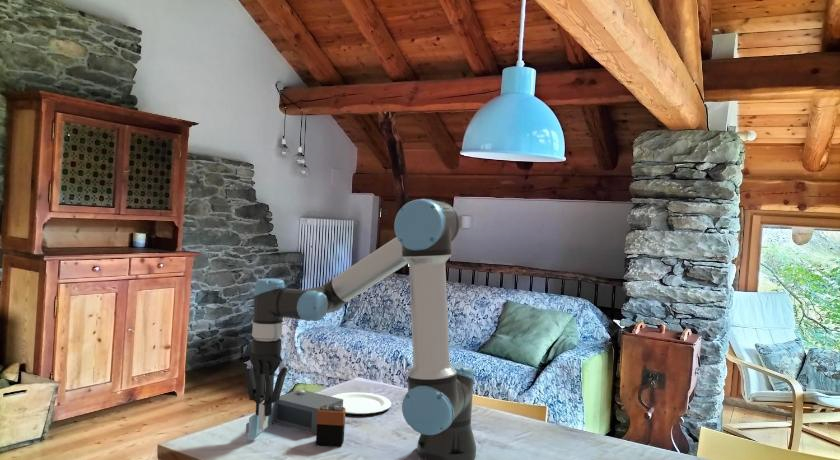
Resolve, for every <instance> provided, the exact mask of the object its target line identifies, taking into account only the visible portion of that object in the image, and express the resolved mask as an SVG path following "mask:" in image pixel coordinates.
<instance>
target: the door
mask: <svg viewBox="0 0 840 460" xmlns="http://www.w3.org/2000/svg"><path fill="white" fill-rule="evenodd" d="M274 413H275V402H274V403H272V409H271V415H270V416H268V426H267V427H266V428H268V427H269V426H270V425H271V424H275V423H274ZM258 417H259V415H256V412H255V413H254V414H252V415H251V416H250V417H249V418H248V422H246V424H245V434H248V435H247V436H248V437H247V440H248V441H253V439H255V438H256V437H257V436H258V435H259V434H260V433H262V432H263V431H264V430H265V429H263V430H261V429H258Z"/></svg>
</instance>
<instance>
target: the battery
mask: <svg viewBox="0 0 840 460" xmlns="http://www.w3.org/2000/svg"><path fill="white" fill-rule="evenodd" d="M345 422H346V413H345V408H344V407H342V405H335V406H334V407H329V406H328V405H322V406H321V407H320V408H319V410H318V413H317V432H316V434H315V435H316V436H315V445H316V446H320V447H323V446H324V447H336V448H337V447H339V448H341V447H342V446H343V444H344V442H345V441H344V440H345V427H346V426H345V424H346V423H345Z"/></svg>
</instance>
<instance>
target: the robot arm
mask: <svg viewBox="0 0 840 460" xmlns="http://www.w3.org/2000/svg"><path fill="white" fill-rule="evenodd" d="M458 214H459V213H458V212H457V211H456V210H455V208H454V207H453V206H451V204H449V203H446V201H440V200H433V199H429V198H420V199H418V198H417V199H413V200H411V201H409V202H406V203H405V204H404V205H402V207H401V208H400V209H399V210H398V212H397V214H396V216H395V219H394V223H393V225H394V226H393V228H394V234H395V236H396V237H394V238H392V239H391V240H390V241H388V242H386V243H385V244H383V245H382V246H380V247H379V248H378V249H375V250H374V251H373V252H371V253H370V254H369V255H366V256H364V258H362V259H360V260H359V261H357V262H356V263H354V264H352V266H349V267H348V268H347V269H345V270H344V271H341V273H339V274H337V275H336V276H334V277H333V278H332V279H330V280H328V281H327V282H326V283H324V284H322V285H321V286H316V287H310V288H305V289H297V288H287V287H286V286H285V281H284V280H283V279H280V278H271V277H270V278H260V279H257V280H256V281H255V284H254V292H253V319H252V331H251V337H253V338H252V339H251V355H250V358H249V360H247V361H245V362H242V363H241V365H240V366H241V369H242V370H243V372H244V377H245V382H246V387H247V394H248V399H249V400H250V401H253V402H255V404H256V405H255V413H256V415H259V417H258V429H261V430H263V429H264V430H265V429H266V428H268V427H269V426H268V416H270V415H271V409H272V403H274V402H276V401H277V400H279V397H280V396H281V394H282V390H283V387H284V383H285V380H286V375H287V374H288V372H289V371H290V369H291V366H289V365H286V364H285V363H283V359H282V356H281V355H282V354H281V353H282V344H283V343H282V338H281V337H282V336H283V319H285V318H288V319H294V320H301V321H306V322H310V321H312V322H314V321H315V322H318V321H321V320H322V319H324V317H325V316H326V314H330V313H335V312H337V311H338V310H341V309H342V308H343V307H344V305H346V303H347V302H349V301H351V300H353V299H354V298H356V297H357V296H358V295H360V294H361V293H364V292H365V291H366V290H369V288H372V287H373V286H375V285H376V284H377V283H379V282H381V281H382V280H384V279H385V278H387V277H389V276H391V275H392V274H393V273H395V272H396V271H399V270H400V269H401V268H403V267H405V266H406V265H407V264H408V267H409V268H408V269H409V274H408V275H409V288H410V289H409V294H410V315H411V316H410V317H411V336H412V337H411V338H412V341H411V342H412V359H413V361H412V362H413V365H412V367H411V368H410V369H409V370H408V372H407V373H406V374H407V392H406V394H405V395H404V397H403V399H402V403H401V412H402V416H403V418H404V420H405V422H406V424H407V425H408V426H409V427H411V429H413V431H415V432H417V433H418V434H420V435H419V438H418V440H417V446H416V449H417V450H416V451H417V455H418V456H419V457H421V458H422V459H424V460H474V459H476V457H477V444H476V440H475V436H474V433H473V429H472V410H473V409H472V408H473V394H474V393H473V391H474V382H475V378H474V377H475V376H474V369H473V368H472V367H470V366H468V365H465V364H461V363H454V362H451V361H450V341H449V340H450V338H449V315H448V313H449V312H448V295H447V291H448V289H447V273H446V272H447V271H446V262H447V261H448V260H449V259H450V258H451V257H452V243H453V241H454V240H455V239H456V238H457V236H458V235H459V231H460V228H461V221H460V217H459V215H458ZM253 368H254V369H253ZM254 370H255V372H254ZM277 370H278V374H277V376H276V375H275V374H276V371H277ZM275 376H276V380H275V379H274V378H275ZM274 381H275V383H274ZM267 426H268V427H267ZM264 430H263V431H264Z"/></svg>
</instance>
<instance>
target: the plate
mask: <svg viewBox="0 0 840 460" xmlns="http://www.w3.org/2000/svg"><path fill="white" fill-rule="evenodd" d="M331 397H335V398H340V399H343V407H344V408H345V415H346V414H347V415H355V416H356V415H374V414H378V413H382V412H385V411H387V410H389V409H390V408H391V406H392V402H391V400H390V399H388V397H386V396H383V395H380V394H376V393H370V392H354V391H353V392H343V393H337V394H334V395H331Z"/></svg>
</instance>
